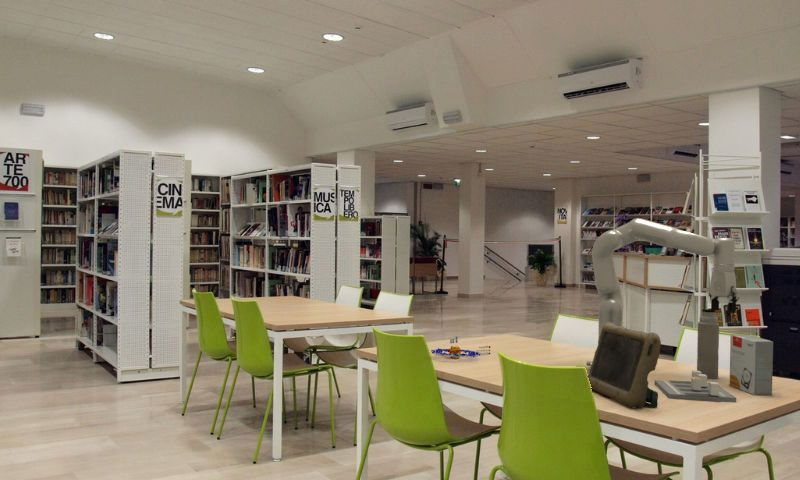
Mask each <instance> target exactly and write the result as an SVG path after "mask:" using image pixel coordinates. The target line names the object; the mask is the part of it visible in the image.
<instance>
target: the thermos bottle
mask: <svg viewBox="0 0 800 480" xmlns="http://www.w3.org/2000/svg"><path fill="white" fill-rule="evenodd" d="M701 312H702V314H701V316H700V317H699V322H698V321H697V345H696V346H697V349H696V350H697V351H696V352H697V358H696V359H697V360H696V371H700V372H702V374H705V375H706V376H707V380H717V378H719V357H720V356H719V346H720V323H718V317H717V316H716V310H711V308H710V309H709V308H704V309H701Z"/></svg>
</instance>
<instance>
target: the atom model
mask: <svg viewBox="0 0 800 480" xmlns="http://www.w3.org/2000/svg"><path fill="white" fill-rule="evenodd" d="M459 337H461V336H460V335H452V338H450V340H449V344H458V342H459V341H458V340H459ZM485 348H486V349H485ZM487 348H488V349H487ZM491 348H492V347H491V346H490V345H489V346H488V345H484V346H479V347H478V350H476V351H475V350H469V349H461V347H459V346H452V345H451V346H450V348H435V349H429V350H428V351H429V352H431V354H432V355H437V356H442V357H443V356H444V357H450V358H451V359H454V360H458V359H459V360H460V358H476V357H481V356H483V355H491ZM479 349H480V350H479Z"/></svg>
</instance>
